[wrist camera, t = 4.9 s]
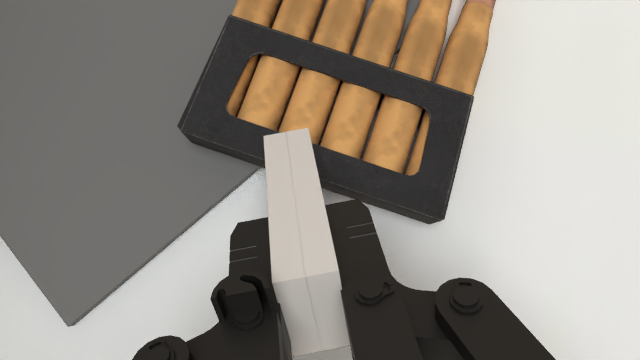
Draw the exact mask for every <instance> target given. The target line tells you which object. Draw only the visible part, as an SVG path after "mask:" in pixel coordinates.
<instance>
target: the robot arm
mask: <svg viewBox="0 0 640 360" xmlns="http://www.w3.org/2000/svg"><path fill="white" fill-rule="evenodd" d="M264 152H265V169H266V187H267V204H268V217H267V218H261V219H256V220H251V221H245V222H240V223H238V224H237V226H236V227H235V229H234V231H233V233H232V234H231V236H230V263H229V276H228V277H226V278H225V279H223V280H222V281H220V282H219V283H218V285H217V286H216V287H215V288H214V290H213V292H212V296H211V301H212V304H213V306H214V309H215V311H216V314H217V316H218V319H219V322H218V323H217V324H216V325H215V326H214V327H213V328H212V329H210V330H208V331H207V332H205V333H203V334H201V335H199V336H197V337H195V338H193V339H191V340H189V341H187V342H185V341H184V340H182V339H181V338H180V337H175V336H164V337H159V338H156V339H154V340H152V341H150V342H148V343H147V344H146V345H144V346H143V347H142V348H141V349H140V350H138V352H137V353H136V355H135V356H134V358H133V359H132V360H292V354H293V357H294V356H299V355H304V354H309V353H314V352H320V351H325V350H330V349H335V348H340V347H345V346H351V351H352V357H353V360H555V358H554V357H553V356H552V355H551V354H550V353H549V352H548V351H547V350H546V349H545V348H544V346H543V345H542V344H541V343H540V342H539V341H538V340H537V339H536V338H535V337H534V335H533V334H532V333H531V332H530V331H529V330H528V329H527V328H526V327H525V326H524V325H523V323H522V322H521V321H520V320H519V319H518V318H517V317H516V316H515V315H514V314H513V313H512V311H511V310H510V309H509V308H508V307H507V306H506V305H505V304H504V303H503V302H502V301H501V299H500V298H499V297H498V296H497V295H496V294H495V293H494V292H493V291H492V290H491V289H490V288H489V287H487V286H486V285H485V284H484V283H482V282H479V281H477V280H474V279H470V278H457V279H452V280H449V281H447V282H445V283H444V284H442V285H441V286H440V287H439V289H438V290H437V292H435V291H422V290H415V289H411V288H408V287H406V286H403V285H402V284H400V283H399V282H397V281H396V280H395V279H394V278H393V277H392V275H391V273H390V271H389V269H388V266H387V263H386V260H385V257H384V254H383V251H382V248H381V245H380V241H379V238H378V235H377V233H376V229H375V226H374V224H373V220H372V217H371V214H370V211H369V209H368V208H367V207H366V206H365V205H364V204H363V203H362V202H361V201H360V200H358V199H356V200H350V201H345V202H340V203H334V204H329V205H325V204H324V199H323V194H322V190H321V185H320V180H319V176H318V171H317V166H316V162H315V157H314V152H313V148H312V143H311V138H310V134H309V129H308V128H304V129H298V130H293V131H288V132H282V133H277V134H272V135H266V136H264ZM291 350H292V351H291Z"/></svg>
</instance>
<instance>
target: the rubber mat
mask: <svg viewBox="0 0 640 360" xmlns="http://www.w3.org/2000/svg"><path fill="white" fill-rule="evenodd" d="M237 1H238V0H0V236H1V238H2V239H3V240H4V242H5V243H6V244H7V246H8V247H9V248H10V250H11V251H12V252H13V254H14V255H15V256H16V258H17V259H18V260H19V262H20V263H21V264H22V266H23V267H24V268H25V270H26V271H27V272H28V274H29V275H30V277H31V278H32V279H33V281H34V282H35V283H36V285H37V286H38V287H39V289H40V290H41V291H42V293H43V294H44V295H45V297H46V298H47V299H48V301H49V302H50V303H51V305H52V306H53V307H54V309H55V310H56V311H57V313H58V314H59V315H60V317H61V318H62V319H63V321H64V322H65V323H66V325H67V326H68V327H69V326H73V325H74V324H75V323H77V322H78V321H79V320H80V319H81V318H82V317H84V316H85V315H86V314H87V313H88V312H90V311H91V310H92V309H93V308H94V307H96V306H97V305H98V304H99V303H100V302H101V301H103V300H104V299H105V298H106V297H107V296H109V295H110V294H111V293H112V292H113V291H115V290H116V289H117V288H118V287H119V286H120V285H122V284H123V283H124V282H125V281H126V280H128V279H129V278H130V277H131V276H132V275H134V274H135V273H136V272H137V271H138V270H139V269H141V268H142V267H143V266H144V265H145V264H147V263H148V262H149V261H150V260H151V259H153V258H154V257H155V256H156V255H157V254H158V253H160V252H161V251H162V250H163V249H164V248H166V247H167V246H168V245H169V244H170V243H172V242H173V241H174V240H175V239H176V238H177V237H179V236H180V235H181V234H182V233H183V232H185V231H186V230H187V229H188V228H189V227H191V226H192V225H193V224H194V223H195V222H196V221H198V220H199V219H200V218H201V217H202V216H204V215H205V214H206V213H207V212H208V211H210V210H211V209H212V208H213V207H214V206H215V205H217V204H218V203H219V202H220V201H221V200H223V199H224V198H225V197H226V196H227V195H229V194H230V193H231V192H232V191H233V190H234V189H236V188H237V187H238V186H239V185H240V184H242V183H243V182H244V181H245V180H246V179H248V178H249V177H250V176H251V175H252V174H253V173H255V172H256V171H257V170H258V169H259V168H261V166H258V165H255V164H252V163H249V162H246V161H243V160H240V159H237V158H234V157H231V156H228V155H226V154H223V153H220V152H217V151H214V150H211V149H208V148H205V147H202V146H199V145H196V144H193V143H191V142H190V141H189V140H188V139H187V138H186V137H185V136H184V135H183V134H182V132H181V131H180V129H179V128H178V127H177V125H178V123H179V121H180V119H181V117H182V115H183V112H184V110H185V108H186V106H187V104H188V102H189V100H190V97H191V95H192V93H193V91H194V89H195V87H196V84H197V82H198V80H199V78H200V76H201V74H202V72H203V69H204V67H205V65H206V63H207V61H208V59H209V57H210V54H211V52H212V50H213V48H214V46H215V44H216V42H217V39H218V37H219V35H220V33H221V31H222V29H223V26H224V24H225V22H226V20H227V18H228V16H229V15H232V13H233V11H234V8H235V6H236V3H237ZM282 1H283V0H281V2H280V4H279V7H278V9H277V12H276V15H275V17H274V20H273V23H272V25H271V28H272V27H273V24H274V22H275V19H276V17H277V14H278V12H279V9H280V6H281V4H282ZM327 1H328V0H325V1H324V3H323V6H322V9H321V12H320V15H319V17H318V20H317V23H316V26H315V28H314V31H313V34H312V37H311V39H310V41H311V42H312V41H313V38H314V35H315V33H316V30H317V27H318V25H319V22H320V19H321V17H322V14H323V11H324V9H325V6H326V3H327ZM373 1H374V0H367V1H366V8H365V12H364V15H363V18H362V21H361V24H360V26H359V29H358V32H357V35H356V38H355V41H354V44H353V47H352V50H351V53H350V55H352V54H353V51H354V48H355V45H356V43H357V40H358V37H359V34H360V31H361V29H362V26H363V23H364V20H365V17H366V15H367V12H368V10H369V8H370V6H371V4H372V3H373ZM419 3H420V0H408V3H407V8H406V17H405V23H404V27H403V30H402V33H401V36H400V39H399V42H398V45H397V48H396V51H395V54H396V53H397V52H398V51H399V50H400V47H401V44H402V41H403V38H404V35H405V32H406V30H407V27H408V24H409V22H410V20H411V18H412V17H413V15H414V13H415V12H416V10H417V8H418V5H419ZM395 54H394V55H395ZM296 83H297V81H295V84H294V86H293V89H292V92H291V95H290V98H289V100H288V103H287V106H286V109H285V111H284V114H283V117H282V120H281V122H280V125H279V128H278V132H279V129H280V126H281V123H282V121H283V118H284V115H285V113H286V110H287V107H288V105H289V102H290V99H291V97H292V94H293V91H294V89H295V86H296ZM249 86H250V85H249ZM248 88H249V87H248ZM247 91H248V89H247ZM247 91H246V93H247ZM245 96H246V94H245ZM337 96H338V95H337V94H336V96H335V99H334V102H333V105H332V107H333V106H334V104H335V101H336V99H337ZM244 98H245V97H244ZM243 101H244V99H243ZM242 104H243V102H242ZM241 106H242V105H241ZM240 109H241V107H240ZM239 111H240V110H239ZM238 114H239V113H238ZM237 116H238V115H237Z"/></svg>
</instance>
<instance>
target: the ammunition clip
mask: <svg viewBox="0 0 640 360" xmlns="http://www.w3.org/2000/svg"><path fill="white" fill-rule="evenodd" d="M324 1H325V0H283V1H282V4H281V6H280V9H279V12H278V14H277V17H276V19H275V22H274V24H273V27H272V28H271V25H272V23H273V20H274V17H275V15H276V12H277V9H278V7H279V4H280V2H281V0H238V1H237V3H236V6H235V8H234V11H233V13H232V15H229V16H228V18H227V20H226V22H225V24H224V26H223V29H222V31H221V33H220V35H219V37H218V39H217V42H216V44H215V46H214V48H213V50H212V52H211V54H210V57H209V59H208V61H207V63H206V65H205V67H204V69H203V72H202V74H201V76H200V78H199V80H198V82H197V84H196V87H195V89H194V91H193V93H192V95H191V97H190V100H189V102H188V104H187V106H186V108H185V110H184V112H183V115H182V117H181V119H180V121H179V123H178V125H177V127H178V128H179V129H180V131H181V132H182V134H183V135H184V136H185V137H186V138H187V139H188V140H189V141H190V142H191V143H193V144H196V145H199V146H202V147H205V148H208V149H211V150H214V151H217V152H220V153H223V154H226V155H228V156H231V157H234V158H237V159H240V160H243V161H246V162H249V163H252V164H255V165H258V166H261V167H264V168H265V152H264V136H266V135H272V134H277V133H282V132H288V131H293V130H298V129H304V128H308V129H309V134H310V138H311V143H312V148H313V152H314V157H315V162H316V166H317V171H318V176H319V180H320V185H321V187H322V188H325V189H328V190H331V191H334V192H337V193H340V194H343V195H345V196H348V197H351V198H354V199H358V200H360V201H363V202H366V203H369V204H372V205H375V206H378V207H381V208H384V209H386V210H389V211H392V212H395V213H398V214H401V215H404V216H407V217H410V218H413V219H416V220H419V221H422V222H424V223H427V224H432V223H435V222H438V221H442V220H444V219H445V214H446V210H447V206H448V202H449V198H450V194H451V190H452V186H453V182H454V177H455V173H456V169H457V165H458V161H459V157H460V153H461V149H462V144H463V140H464V136H465V132H466V128H467V124H468V120H469V116H470V112H471V107H472V103H473V99H474V96H473V94H474V91H475V87H476V84H477V81H478V77H479V74H480V70H481V67H482V64H483V60H484V57H485V53H486V50H487V46H488V35H489V27H490V23H491V19H492V15H493V8H494V5H495V1H496V0H466V3H465V6H464V7H463V9H462V12H461V14H460V17H459V20H458V22H457V24H456V26H455V28H454V29H453V31H452V33H451V35H450V37H449V39H448V42H447V45H446V48H445V52H444V55H443V58H442V61H441V64H440V67H439V70H438V73H437V76H436V79H435V82H431V81H432V78H433V74H434V71H435V68H436V65H437V62H438V58H439V55H440V52H441V49H442V46H443V42H444V39H445V35H446V30H447V20H448V14H449V10H450V6H451V3H452V0H420V3H419V5H418V8H417V10H416V12H415V13H414V15H413V17H412V18H411V20H410V22H409V24H408V27H407V30H406V32H405V35H404V38H403V41H402V44H401V47H400V50H399V53H398V56H397V59H396V62H395V65H394V68H393V69H392V68H390V66H391V63H392V60H393V57H394V54H395V51H396V48H397V45H398V42H399V39H400V36H401V33H402V30H403V27H404V23H405V17H406V8H407V3H408V0H374V1H373V3H372V4H371V6H370V8H369V10H368V12H367V15H366V17H365V20H364V23H363V26H362V29H361V31H360V34H359V37H358V40H357V43H356V45H355V48H354V51H353V54H352V55H350V53H351V50H352V47H353V44H354V41H355V38H356V35H357V32H358V29H359V26H360V24H361V21H362V18H363V15H364V12H365V8H366V1H367V0H328V1H327V3H326V6H325V9H324V11H323V14H322V17H321V19H320V22H319V25H318V27H317V30H316V33H315V35H314V38H313V41H312V42H311V41H310V39H311V37H312V34H313V31H314V28H315V26H316V23H317V20H318V17H319V15H320V12H321V9H322V6H323V3H324ZM295 81H297V83H296V86H295V89H294V91H293V94H292V97H291V99H290V102H289V105H288V107H287V110H286V113H285V115H284V118H283V121H282V123H281V126H280V129H279V132H278V128H279V125H280V122H281V120H282V117H283V114H284V111H285V109H286V106H287V103H288V100H289V98H290V95H291V92H292V89H293V86H294V84H295ZM249 85H250V86H249ZM248 87H249V88H248ZM247 89H248V91H247ZM246 91H247V93H246ZM245 94H246V96H245ZM336 94H337V95H338V96H337V99H336V101H335V104H334V107H333V110H332V113H331V115H330V118H329V121H328V124H327V127H326V129H325V132H324V135H323V138H322V141H321V143H320V146H319V142H320V139H321V137H322V134H323V131H324V128H325V125H326V122H327V119H328V116H329V113H330V110H331V108H332V105H333V102H334V99H335V96H336ZM244 97H245V98H244ZM243 99H244V101H243ZM242 102H243V104H242ZM241 105H242V106H241ZM240 107H241V109H240ZM377 108H379V112H378V115H377V118H376V121H375V124H374V127H373V129H372V132H371V135H370V138H369V141H368V144H367V147H366V150H365V153H364V156H363V159H362V160H360V158H361V155H362V151H363V148H364V145H365V142H366V139H367V136H368V133H369V130H370V127H371V124H372V121H373V118H374V115H375V112H376V109H377ZM239 110H240V111H239ZM238 113H239V114H238ZM237 115H238V116H237ZM417 126H418V127H419V132H418V135H417V138H416V141H415V144H414V147H413V151H412V154H411V157H410V160H409V163H408V166H407V169H406V172H405V174H403V171H404V168H405V164H406V161H407V158H408V155H409V151H410V148H411V145H412V142H413V139H414V135H415V132H416V129H417Z"/></svg>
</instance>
